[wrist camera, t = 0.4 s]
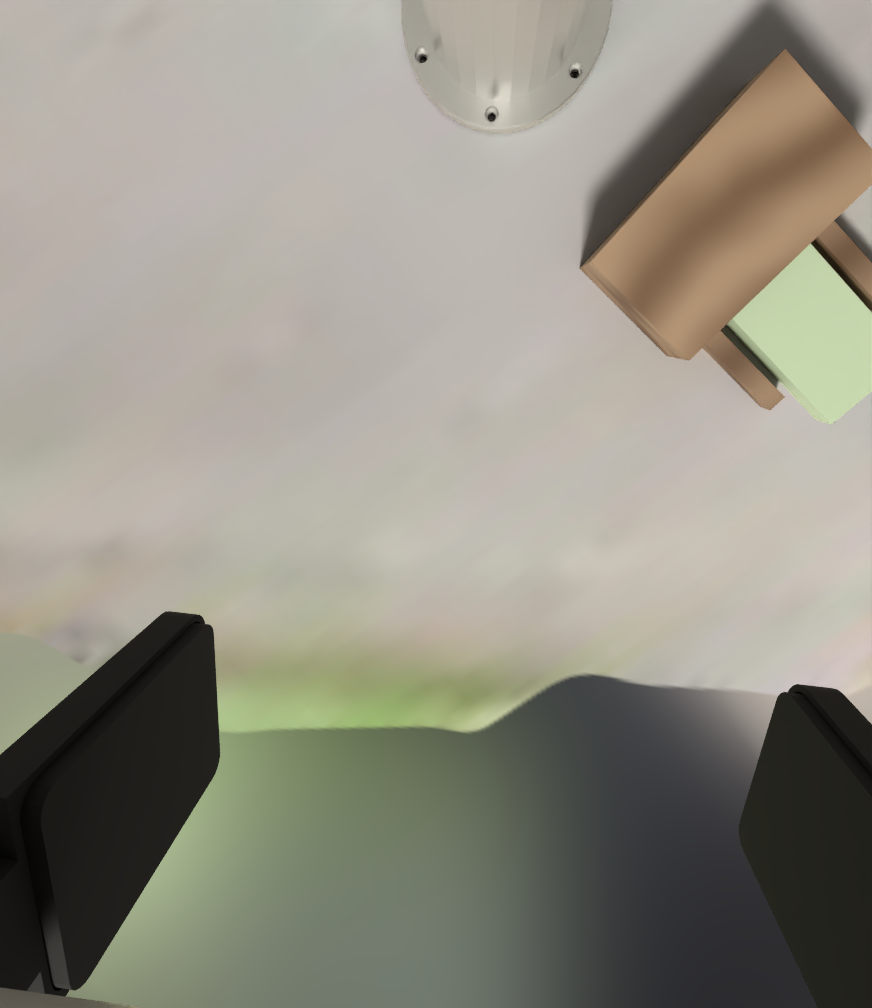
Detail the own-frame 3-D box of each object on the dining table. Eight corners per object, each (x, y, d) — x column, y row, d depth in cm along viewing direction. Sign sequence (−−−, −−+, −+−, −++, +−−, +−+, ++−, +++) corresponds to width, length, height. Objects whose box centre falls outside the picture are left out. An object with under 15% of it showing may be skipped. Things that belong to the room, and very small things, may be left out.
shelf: (912, 271, 37) (971, 264, 33) (737, 427, 41) (768, 440, 37) (746, 84, 35) (785, 48, 31) (579, 268, 39) (591, 261, 35)
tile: (886, 355, 40) (911, 357, 37) (812, 418, 41) (831, 424, 39) (783, 239, 38) (802, 234, 36) (710, 310, 40) (723, 309, 37)
